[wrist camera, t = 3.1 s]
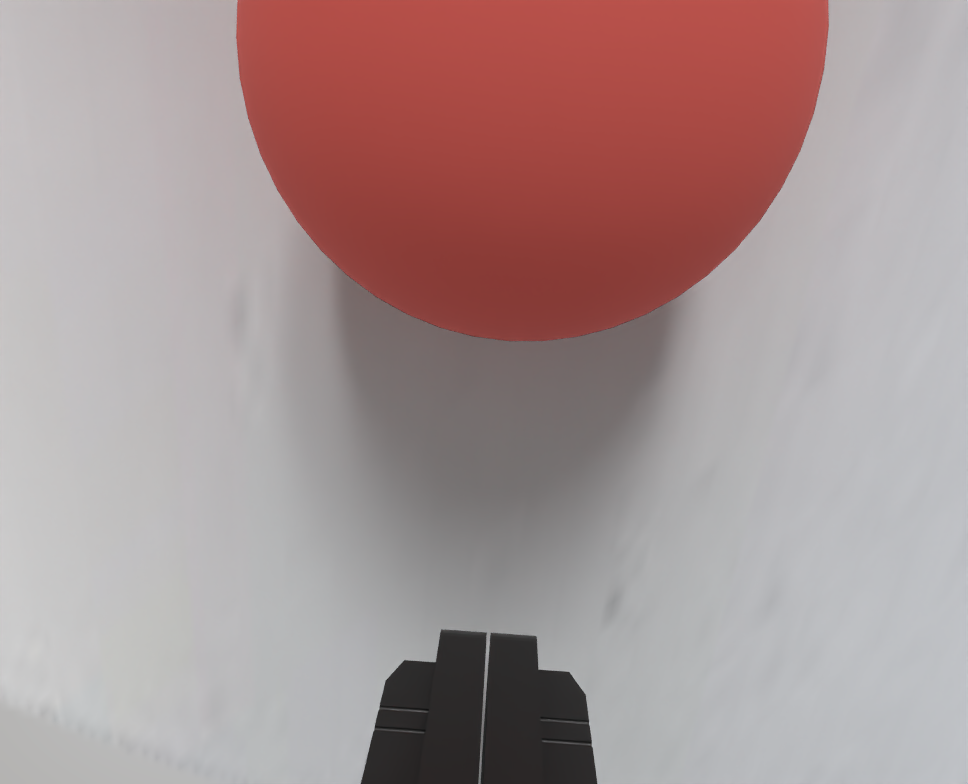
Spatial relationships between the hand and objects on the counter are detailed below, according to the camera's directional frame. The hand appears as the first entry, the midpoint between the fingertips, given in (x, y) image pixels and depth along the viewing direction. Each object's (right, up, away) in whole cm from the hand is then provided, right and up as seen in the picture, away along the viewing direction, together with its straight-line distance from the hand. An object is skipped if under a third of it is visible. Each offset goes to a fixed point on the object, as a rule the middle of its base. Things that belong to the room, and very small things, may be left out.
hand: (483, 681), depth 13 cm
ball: (0, +8, -4) cm, 9 cm away
